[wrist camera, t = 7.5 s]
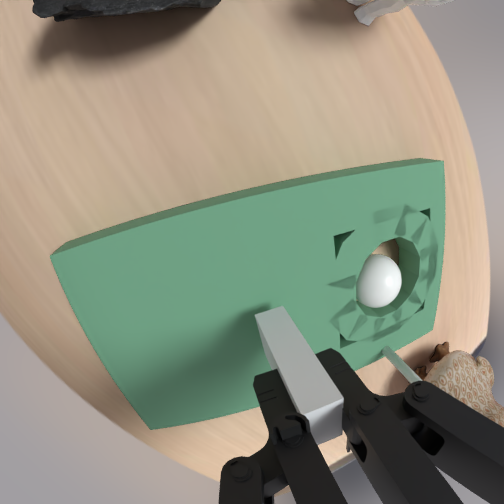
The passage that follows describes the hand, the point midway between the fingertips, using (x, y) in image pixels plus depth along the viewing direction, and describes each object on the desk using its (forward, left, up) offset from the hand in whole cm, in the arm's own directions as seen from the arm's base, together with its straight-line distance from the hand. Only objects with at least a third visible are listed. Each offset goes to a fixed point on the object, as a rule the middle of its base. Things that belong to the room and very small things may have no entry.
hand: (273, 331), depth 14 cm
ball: (0, +8, -2) cm, 8 cm away
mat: (0, +2, -3) cm, 4 cm away
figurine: (+15, +17, -4) cm, 23 cm away
